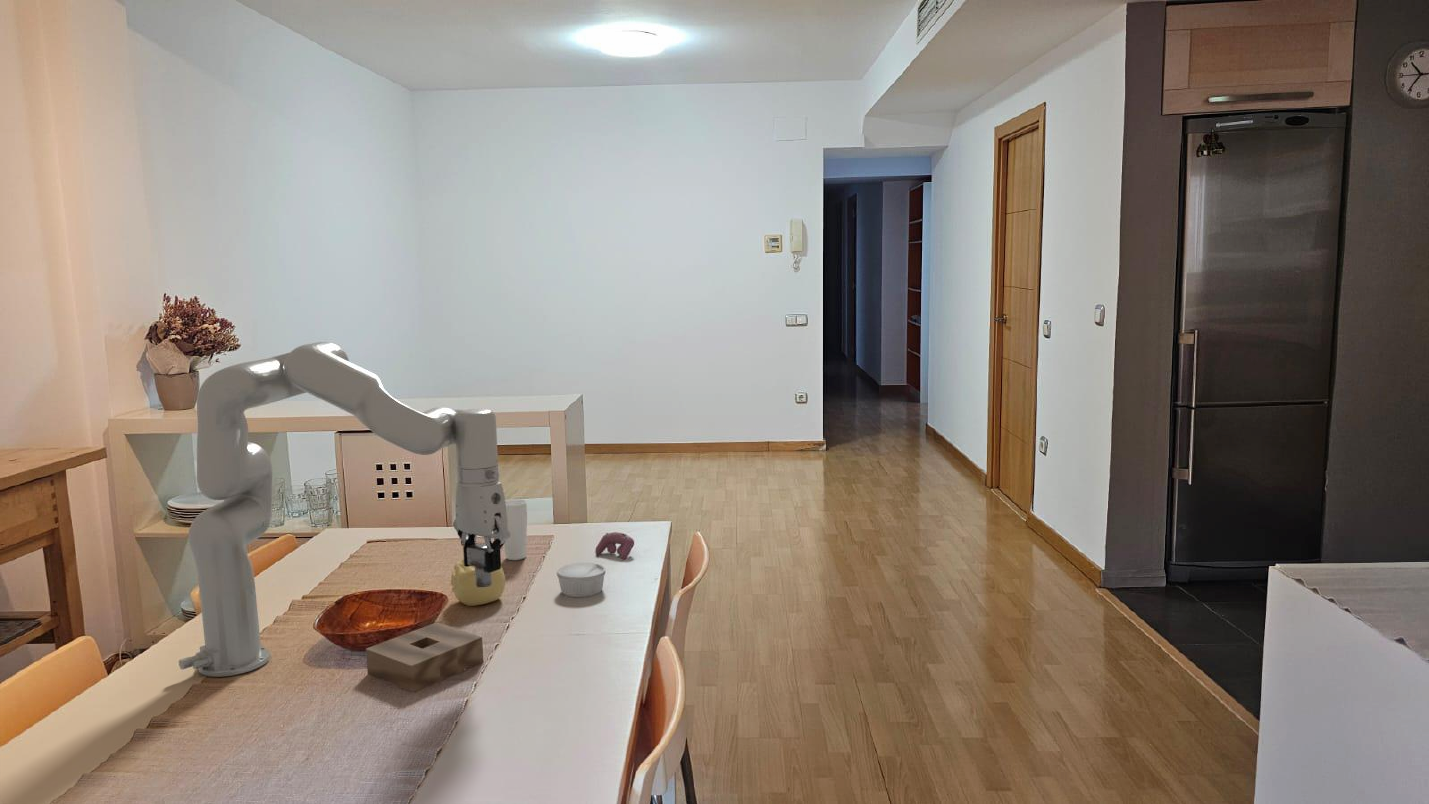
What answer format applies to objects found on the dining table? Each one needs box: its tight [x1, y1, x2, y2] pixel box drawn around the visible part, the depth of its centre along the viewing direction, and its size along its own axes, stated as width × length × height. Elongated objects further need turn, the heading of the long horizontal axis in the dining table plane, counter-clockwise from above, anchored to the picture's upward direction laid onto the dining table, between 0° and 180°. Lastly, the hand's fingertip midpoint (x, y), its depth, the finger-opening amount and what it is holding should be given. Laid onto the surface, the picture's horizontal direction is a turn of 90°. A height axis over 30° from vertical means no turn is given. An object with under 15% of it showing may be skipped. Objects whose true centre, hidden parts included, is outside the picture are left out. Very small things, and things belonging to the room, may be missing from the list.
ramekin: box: [556, 562, 606, 598], centre depth 222 cm, size 11×11×5 cm
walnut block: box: [365, 621, 485, 693], centre depth 180 cm, size 16×14×5 cm
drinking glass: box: [504, 498, 528, 561], centre depth 248 cm, size 7×7×15 cm
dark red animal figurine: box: [594, 531, 635, 560], centre depth 250 cm, size 10×5×7 cm, turn 59°
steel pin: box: [467, 542, 492, 587], centre depth 181 cm, size 6×6×8 cm
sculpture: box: [450, 558, 506, 607], centre depth 216 cm, size 12×12×11 cm
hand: (482, 566), depth 181 cm, fingers closed on steel pin, 5 cm apart
